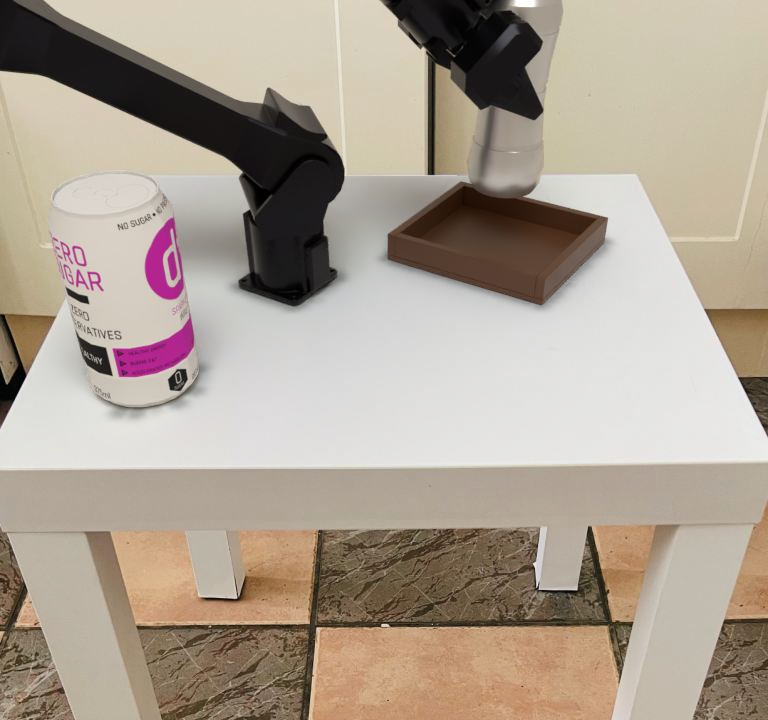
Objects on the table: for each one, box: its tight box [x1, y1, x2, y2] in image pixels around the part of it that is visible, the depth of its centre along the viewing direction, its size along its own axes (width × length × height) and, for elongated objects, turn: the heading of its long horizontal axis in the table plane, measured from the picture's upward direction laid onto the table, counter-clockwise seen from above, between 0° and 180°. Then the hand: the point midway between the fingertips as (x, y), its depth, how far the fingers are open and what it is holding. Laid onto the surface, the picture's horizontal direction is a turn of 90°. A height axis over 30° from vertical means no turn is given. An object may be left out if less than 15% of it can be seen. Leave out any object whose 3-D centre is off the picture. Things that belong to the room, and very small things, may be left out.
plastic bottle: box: [466, 0, 564, 198], centre depth 75 cm, size 6×7×20 cm
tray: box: [387, 180, 609, 306], centre depth 85 cm, size 16×14×2 cm
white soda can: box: [46, 169, 200, 408], centre depth 66 cm, size 8×8×15 cm
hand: (525, 103), depth 77 cm, fingers closed on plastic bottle, 5 cm apart
